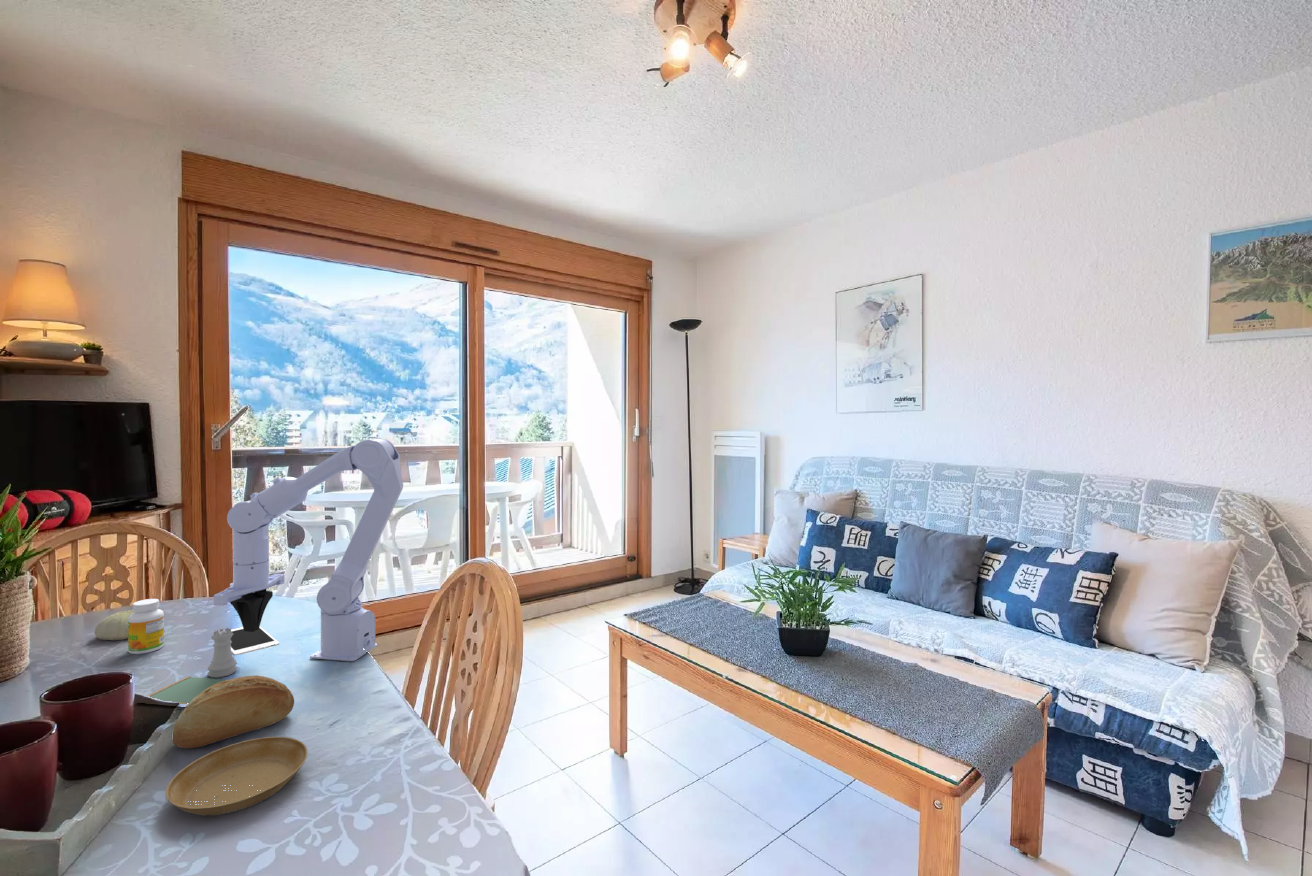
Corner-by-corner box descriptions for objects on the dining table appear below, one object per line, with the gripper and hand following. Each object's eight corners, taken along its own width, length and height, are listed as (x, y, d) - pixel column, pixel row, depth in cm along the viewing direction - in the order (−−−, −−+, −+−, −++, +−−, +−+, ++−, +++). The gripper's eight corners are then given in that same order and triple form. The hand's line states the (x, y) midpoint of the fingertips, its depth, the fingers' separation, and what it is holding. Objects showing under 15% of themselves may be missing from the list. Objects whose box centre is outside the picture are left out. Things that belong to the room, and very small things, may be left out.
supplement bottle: (122, 651, 113) (121, 603, 112) (154, 642, 118) (154, 596, 117) (137, 656, 111) (137, 607, 110) (170, 646, 116) (169, 599, 115)
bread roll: (301, 727, 87) (301, 676, 87) (174, 767, 77) (174, 710, 76) (287, 704, 94) (287, 657, 94) (169, 738, 84) (169, 685, 83)
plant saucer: (238, 837, 65) (237, 815, 64) (132, 819, 67) (131, 797, 67) (333, 761, 79) (333, 743, 79) (243, 748, 82) (243, 730, 82)
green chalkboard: (248, 683, 101) (248, 680, 101) (201, 709, 92) (201, 706, 92) (188, 678, 102) (188, 676, 102) (136, 703, 93) (136, 700, 93)
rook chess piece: (221, 679, 102) (220, 636, 102) (200, 677, 103) (200, 633, 102) (243, 669, 106) (243, 627, 106) (224, 666, 107) (223, 625, 107)
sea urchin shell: (166, 622, 124) (132, 604, 119) (132, 656, 119) (95, 638, 114) (151, 614, 129) (117, 596, 124) (118, 646, 124) (82, 629, 119)
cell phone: (234, 657, 112) (234, 654, 112) (214, 635, 123) (214, 633, 123) (280, 645, 118) (280, 642, 118) (257, 626, 129) (257, 623, 129)
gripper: (262, 552, 118) (262, 616, 118) (198, 570, 104) (199, 643, 104) (293, 553, 117) (293, 618, 118) (233, 572, 103) (233, 645, 103)
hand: (251, 630), depth 111 cm, fingers closed
